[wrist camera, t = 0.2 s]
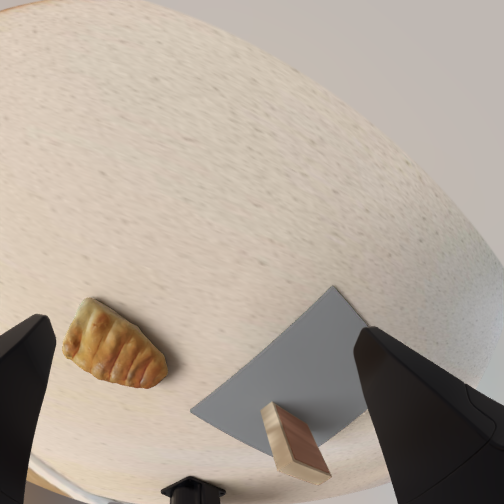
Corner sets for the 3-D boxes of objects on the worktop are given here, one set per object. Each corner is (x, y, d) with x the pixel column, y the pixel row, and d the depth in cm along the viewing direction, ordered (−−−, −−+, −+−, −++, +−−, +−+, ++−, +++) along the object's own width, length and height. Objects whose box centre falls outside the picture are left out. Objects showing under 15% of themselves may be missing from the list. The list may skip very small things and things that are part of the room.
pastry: (182, 341, 24) (179, 366, 20) (152, 391, 25) (146, 418, 21) (87, 288, 22) (69, 305, 18) (66, 344, 22) (50, 366, 19)
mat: (290, 462, 29) (291, 464, 29) (190, 409, 25) (190, 412, 25) (404, 371, 29) (406, 372, 28) (332, 285, 25) (334, 287, 24)
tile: (296, 432, 28) (318, 485, 20) (260, 410, 26) (277, 470, 18) (308, 423, 28) (333, 476, 20) (272, 400, 26) (293, 460, 18)
